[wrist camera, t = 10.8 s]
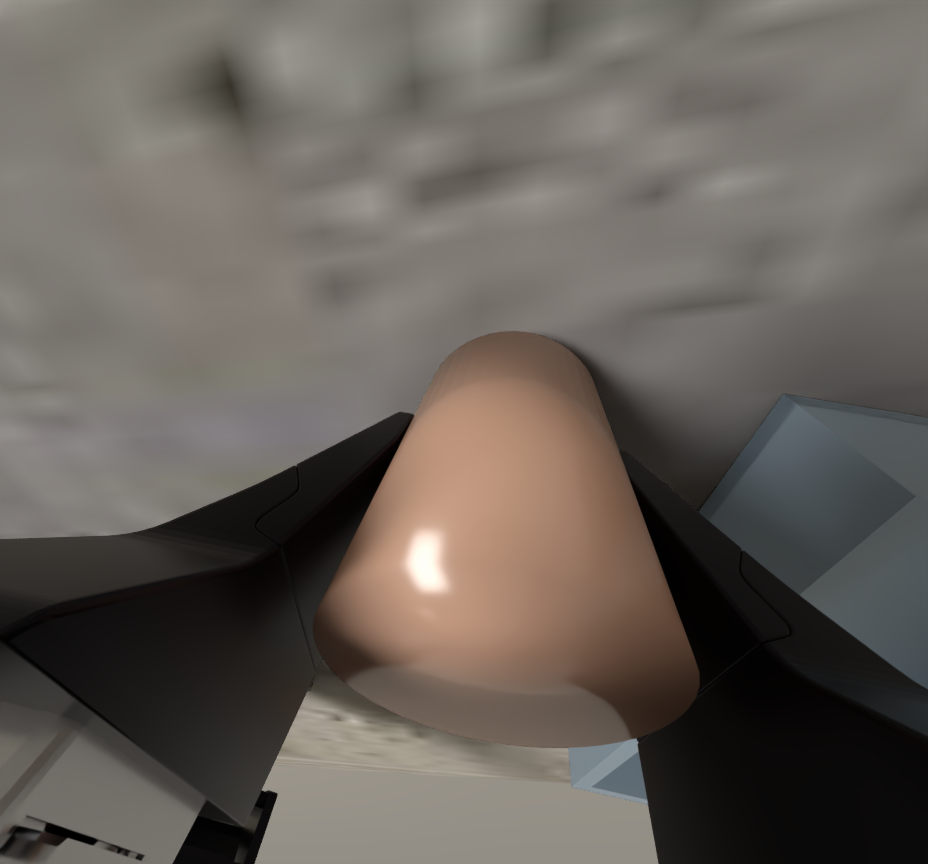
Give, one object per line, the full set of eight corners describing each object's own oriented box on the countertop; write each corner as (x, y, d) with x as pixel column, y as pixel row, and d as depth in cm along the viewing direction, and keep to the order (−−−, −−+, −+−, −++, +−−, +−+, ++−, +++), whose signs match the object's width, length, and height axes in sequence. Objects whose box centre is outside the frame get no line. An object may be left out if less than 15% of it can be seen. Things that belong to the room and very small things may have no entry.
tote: (790, 747, 21) (838, 848, 18) (564, 698, 22) (571, 787, 19) (1338, 485, 9) (1806, 653, 6) (783, 393, 10) (916, 496, 6)
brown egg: (569, 490, 12) (611, 770, 6) (423, 463, 12) (331, 707, 6) (625, 348, 9) (803, 621, 3) (433, 317, 9) (283, 518, 4)
